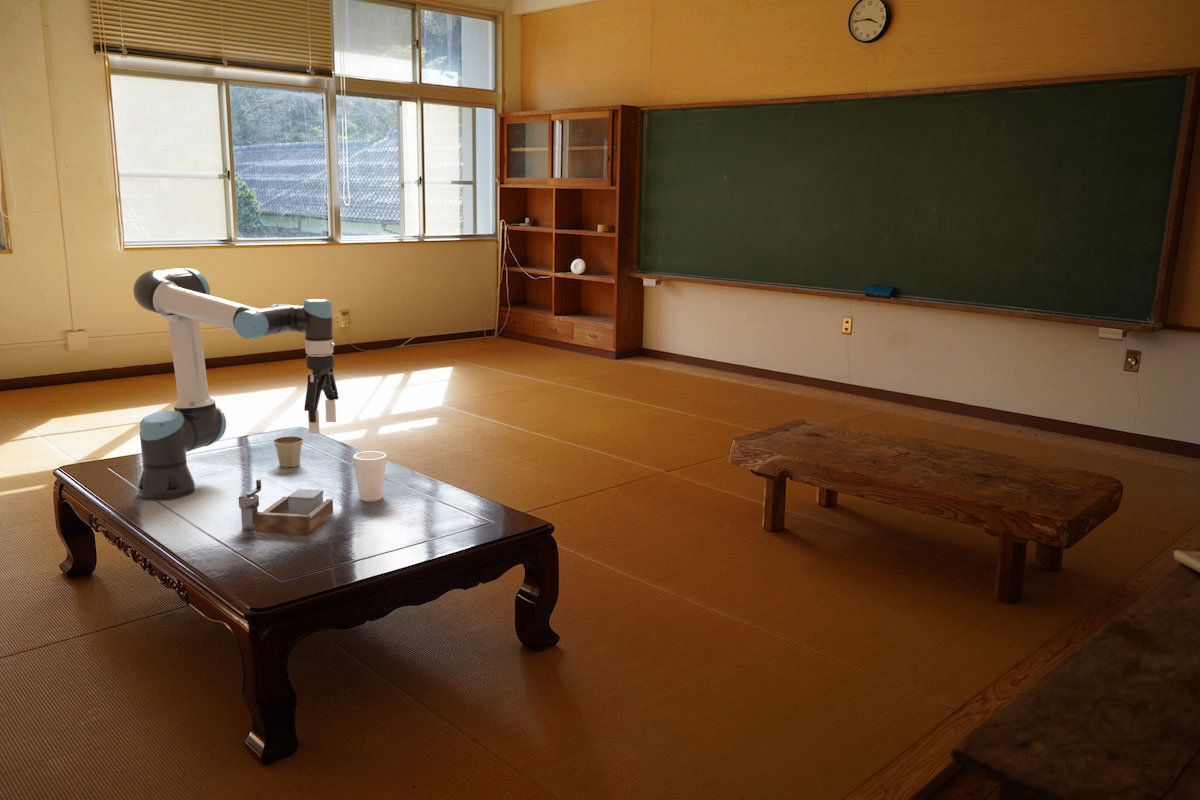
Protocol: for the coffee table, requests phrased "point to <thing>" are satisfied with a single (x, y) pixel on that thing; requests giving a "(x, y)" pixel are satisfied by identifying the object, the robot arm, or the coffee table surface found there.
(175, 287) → the robot arm
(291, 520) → the bay
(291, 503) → the gray block
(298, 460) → the flower pot
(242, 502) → the winch
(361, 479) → the foam cup
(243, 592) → the coffee table surface
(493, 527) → the coffee table surface
